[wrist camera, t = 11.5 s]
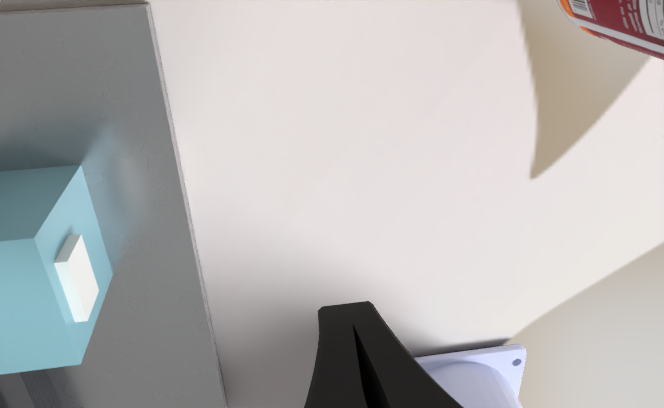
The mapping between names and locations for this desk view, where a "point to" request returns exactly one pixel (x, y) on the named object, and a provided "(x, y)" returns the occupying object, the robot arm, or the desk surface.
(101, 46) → the rail board
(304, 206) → the desk surface
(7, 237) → the block
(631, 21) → the pill bottle
